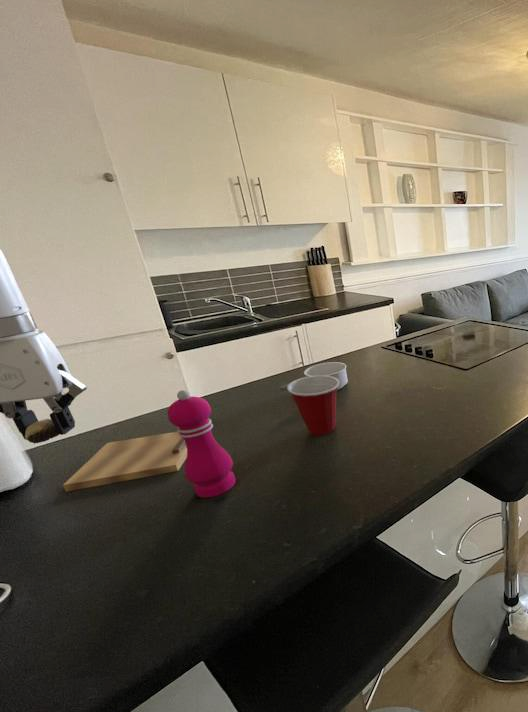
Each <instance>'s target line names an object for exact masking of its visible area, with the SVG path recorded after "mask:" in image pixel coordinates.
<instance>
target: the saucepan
mask: <svg viewBox="0 0 528 712" xmlns="http://www.w3.org/2000/svg"><path fill="white" fill-rule="evenodd" d="M303 374H304V375H305V377H309V376H322V375H323V376H331V377H334V378H337V379H338V380H339V381H340V382H339V386H338V387H337V391H339V390H340V389H342V388H343V387H344V386H345V385H347V384H348V382H349V379H348V375H347V364H346V363H344V362H339V361H329V362H323V363H317V364H314V365H312V366H309V367H308V368H306V369H305V370H304V371H303ZM290 383H291V382H290ZM290 383H286V384H284V385H282V386H280V387H279V390H280V391H284V390H286V389H287V387H288V385H289V384H290ZM287 390H288V389H287Z"/></svg>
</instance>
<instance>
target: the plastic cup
mask: <svg viewBox="0 0 528 712" xmlns="http://www.w3.org/2000/svg"><path fill="white" fill-rule="evenodd" d="M339 382H340V381H339V380H338V379H337V378H334V377H331V376H323V375H322V376H309V377H306V376H305V377H301V378H298V379H294V380H293V381H291V382H290V384H289V383H288V384H289V385H288V387H287V391H288V392H289V394H290V395H291V396H292V398H293V401H294V402H295V404H296V407H297V409H298V411H299V414H300V416H301V418H302V421H303V422H304V424H305V426H306V428H307V431H308V432H309V433H310V435H312V436H316V435H317V436H318V437H319V436H325V435H328V434H330V433H332V432H333V431H334V430H335V429H336V426H337V417H336V415H337V393H338V390H337V387H338V386H339ZM327 433H328V434H327ZM324 434H325V435H324Z"/></svg>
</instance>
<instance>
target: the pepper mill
mask: <svg viewBox="0 0 528 712" xmlns="http://www.w3.org/2000/svg"><path fill="white" fill-rule="evenodd" d="M176 397H177V400H175V401H174V402H173V403H171V404H170V406H169V407H168V408H167V418H168V421H169V422H170V423H171V424H172V425H173V426H175V427H176V432H179V436H180V437H183V439H184V440H185V443H186V446H187V458H186V460H185V461H184V474H185V478H186V480H187V481H188V482H190V483H192V484H193V489H194V492H195V494H196V496H197V497H200V498H204V499H205V498H207V499H208V498H214V497H217V496H220V495H222V494H224V493H226V492H228V491H229V490H231V489H232V488H233V487H234V486H235V484H236V477H235V473H234V472H233V470H232V468H233V465H234V461H233V459H232V456H231V455H230V454H229V452H228V451H227V450H226V449H225V448H224V447H222V446H221V444H219V443H218V442H217V440H216V439H215V437H214V434H213V432H212V429H213V428H214V424H213V423H212V419H211V418H210V416H211V413H212V408H211V405H210V404H209V402H208V401H207V400H206V399H205V398H202V397H200V396H191V393H190V391H188V390H186V389H181V390H179V391H177V393H176Z"/></svg>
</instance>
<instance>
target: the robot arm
mask: <svg viewBox="0 0 528 712" xmlns="http://www.w3.org/2000/svg"><path fill="white" fill-rule="evenodd" d="M66 388H67V389H68V391H67V392H65V391H64V390H63V389H66ZM87 389H88V387H87V386H86V385H85V384H84V383H82V382H81V381H79V380H78V379H77V378H75V377H74V376H73V375H72V373H71V371H70V369H69V367H68V365H67V363H66V361H65V360H64V358H63V356H62V354H61V353H60V351H59V349H58V348H57V347H56V345H55V343H54V342H53V341H52V340H51V338H50V337H49V336H48V335H47V333H46V332H45V331H44V330H39V328H38V326H37V324H36V321H35V319H34V317H33V315H32V313H31V311H30V309H29V306H28V304H27V301H26V300H25V298H24V295H23V293H22V291H21V289H20V287H19V284H18V283H17V280H16V277H15V276H14V273H13V271H12V269H11V267H10V264H9V263H8V261H7V259H6V256H5V254H4V252H3V251H2V249H1V248H0V413H1V414H3V415H4V416H5V418H7V419H12V421H13V423H14V424H15V426H16V428H17V431H18V432H19V433H20V434H21V435H22V437H23V439H24V440H25V441H27V440H26V439H25V434H26V429H27V427H28V426H30V425H31V424H33V423H35V422H38V421H39V419H38V418H37V415H36V413H35V411H33V410H32V409H28V406H27V402H26V401H32V400H42V399H43V402H44V403H46V405H47V406H48V407H49V409H50V411H52V412H51V413H49V419H51V420H52V422H53V424H54V426H55V428H56V430H57V432H58V434H59V435H60V436H62V435H63V436H64V435H67V434H68V433H69V432H71V431H72V430H73V429H74V428H75V427H76V420H75V419H74V416H73V414H72V412H71V410H70V407H69V406H71V405H72V402H73V401H74V400H75V399H76V397H78V396H79V395H81V394H82V393H84V392H86V390H87Z"/></svg>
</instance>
